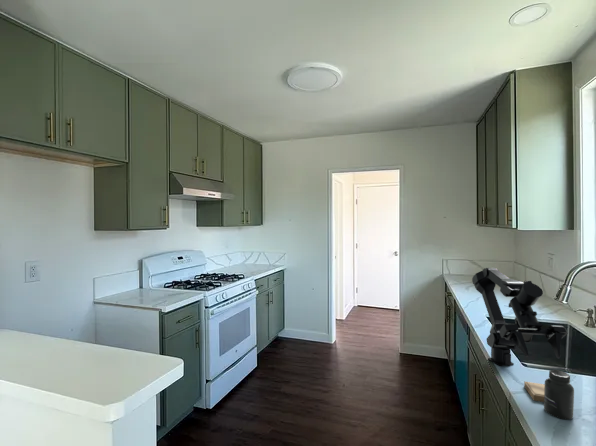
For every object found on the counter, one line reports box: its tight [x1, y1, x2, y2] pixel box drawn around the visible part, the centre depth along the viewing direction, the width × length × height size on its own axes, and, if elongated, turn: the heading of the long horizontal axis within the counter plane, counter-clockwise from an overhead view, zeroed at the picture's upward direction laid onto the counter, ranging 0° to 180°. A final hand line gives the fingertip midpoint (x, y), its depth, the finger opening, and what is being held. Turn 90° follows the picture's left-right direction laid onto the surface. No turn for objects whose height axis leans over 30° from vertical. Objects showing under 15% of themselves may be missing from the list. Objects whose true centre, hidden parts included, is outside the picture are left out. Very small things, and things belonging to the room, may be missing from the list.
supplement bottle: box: [543, 369, 575, 421], centre depth 95 cm, size 7×7×12 cm
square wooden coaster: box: [523, 381, 545, 403], centre depth 105 cm, size 9×9×2 cm
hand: (543, 357), depth 103 cm, fingers open, 9 cm apart
